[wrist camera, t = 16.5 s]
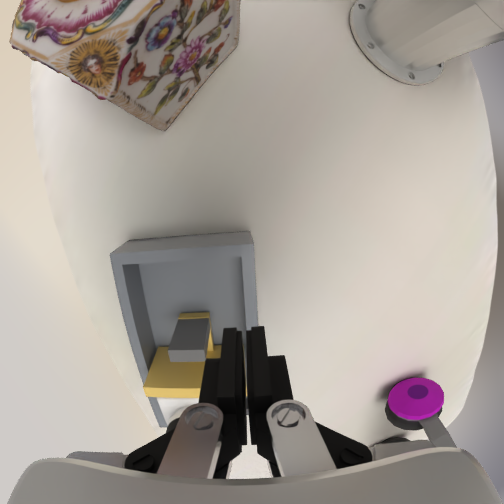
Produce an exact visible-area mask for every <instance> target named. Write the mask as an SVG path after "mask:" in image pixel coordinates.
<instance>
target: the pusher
mask: <svg viewBox="0 0 504 504" xmlns="http://www.w3.org/2000/svg"><path fill="white" fill-rule="evenodd" d="M221 346H222V345H214V342H213V335H212V328H211V320H210V312H202V313H180V315H179V317H178V322H177V324H176V327H175V330H174V333H173V336H172V339H171V342H170V345H169V347H158V349H157V351H156V354H155V357H154V359H153V362H152V364H151V367H150V370H149V372H148V375H147V378H146V380H145V383H144V386H143V389H144V392H145V394H146V397H164V398H199V396H200V390H201V383H202V377H203V371H204V365H205V360H206V358H220V356H221ZM243 350H244V344H243ZM244 363H245V355H244ZM245 376H246V370H245ZM246 396H247V385H246Z"/></svg>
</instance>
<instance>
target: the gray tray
mask: <svg viewBox="0 0 504 504" xmlns="http://www.w3.org/2000/svg"><path fill="white" fill-rule="evenodd" d="M110 258H111V264H112V269H113V274H114V279H115V284H116V289H117V293H118V298H119V302H120V306H121V310H122V314H123V318H124V322H125V326H126V330H127V333H128V337H129V340H130V344H131V347H132V351H133V354H134V357H135V360H136V363H137V367H138V370H139V373H140V376H141V379H142V382H143V384H144V383H145V380H146V378H147V375H148V372H149V370H150V367H151V364H152V362H153V359H154V357H155V354H156V351H157V349H158V347H169V345H170V342H171V339H172V336H173V333H174V330H175V327H176V324H177V322H178V317H179V315H180V313H202V312H210V320H211V328H212V335H213V342H214V345H222V337H223V328H234V327H237V331H242V337H243V344H244V355H245V370H246V385H247V357H246V330H251V327H256V326H258V316H257V296H256V277H255V258H254V243H253V239H252V236H251V232H250V231H243V232H228V233H214V234H200V235H187V236H174V237H161V238H149V239H137V240H129V241H127V242H126V243H125V244H123V245H122V246H120V247H119V248H117V249H116V250H115V251H113V252H112V253H110ZM148 398H149V401H150V404H151V406H152V409H153V411H154V414H155V416H156V419H157V421H158V424H159V426H160V427H167V423H166V421H165V418H164V416H163V414H162V411H161V409H160V406H159V403H158V401H157V397H148ZM246 415H249V411H248V399H247V396H246Z"/></svg>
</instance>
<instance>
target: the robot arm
mask: <svg viewBox="0 0 504 504" xmlns="http://www.w3.org/2000/svg"><path fill="white" fill-rule="evenodd" d="M350 26H351V30H352V33H353V35H354V38H355V40H356V42H357V43H358V45H359V47H360V48H361V50H362V51H363V52H364V54H365V55H366V56H367V57H368V58H369V59H370V60H371V61H372V63H373V64H374V65H375V66H377V67H378V68H379V69H380V70H382V71H383V72H384V73H386V74H387V75H389V76H390V77H392V78H394V79H396V80H398V81H400V82H403V83H406V84H410V85H423V84H427V83H430V82H433V81H434V80H435V79H437V78H438V77H439V75H440V74H441V73H442V70H443V67H444V62H445V61H447V60H450V59H452V58H455V57H457V56H460V55H462V54H465V53H468V52H470V51H473V50H476V49H479V48H481V47H484V46H487V45H490V44H493V43H496V42H499V41H502V40H504V0H358V1H357V2H356V3H355V4H354V6H353V7H352V9H351V12H350ZM246 357H247V399H248V411H249V423H250V434H251V445H257V452H258V454H259V455H261V456H262V457H264V458H265V459H267V464H268V467H269V471H270V474H271V478H259V479H229V476H230V472H231V467H232V460H233V459H234V458H235V457H237V456H238V455H239V454H240V452H242V445H247V417H246V376H245V363H244V350H243V337H242V331H237V327H234V328H223V337H222V346H221V356H220V358H206V360H205V365H204V371H203V377H202V383H201V390H200V396H199V402H198V403H197V404H193V405H191V406H189V407H187V408H186V409H185V410H184V411H183V413H182V414H181V416H180V419H179V421H178V423H177V426H176V428H174V429H173V430H171V431H169V432H167V433H166V434H164V435H162V436H160V437H159V438H157V439H155V440H153V441H151V442H150V443H148V444H146V445H144V446H142V447H140V448H138V449H137V450H135V451H133V452H132V453H130V454H129V455H124V454H123V453H107V452H106V453H105V452H81V451H78V452H73V453H71V454H69V455H68V456H67V457H66V458H47V459H42V460H38V461H35V462H33V463H32V464H31V465H30V466H29V467H28V468H27V469H26V470H25V471H24V473H23V474H22V476H21V477H20V479H19V481H18V483H17V484H16V486H15V488H14V490H13V492H12V494H11V496H10V499H9V501H8V503H7V504H503V503H502V501H501V499H500V497H499V495H498V492H497V490H496V488H495V487H494V485H493V483H492V481H491V480H490V478H489V476H488V474H487V473H486V472H485V470H484V468H483V467H482V466H481V464H480V463H479V462H478V460H477V459H476V458H475V457H474V456H473V455H472V454H470V453H469V452H467V451H466V450H464V449H460V448H454V447H436V445H435V444H434V443H432V442H431V441H428V440H416V441H407V442H398V443H387V444H375V445H374V447H367V446H365V445H363V444H362V443H359V442H357V441H355V440H353V439H350V438H348V437H346V436H344V435H342V434H339V433H337V432H335V431H333V430H331V429H329V428H327V427H325V426H323V425H321V424H319V423H317V422H315V421H314V419H313V417H312V415H311V412H310V410H309V409H308V407H307V406H306V405H304V404H303V403H301V402H299V401H296V400H293V395H292V390H291V385H290V380H289V375H288V369H287V364H286V359H285V356H284V355H280V356H268V355H267V347H266V338H265V330H264V326H256V327H251V330H246Z"/></svg>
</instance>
